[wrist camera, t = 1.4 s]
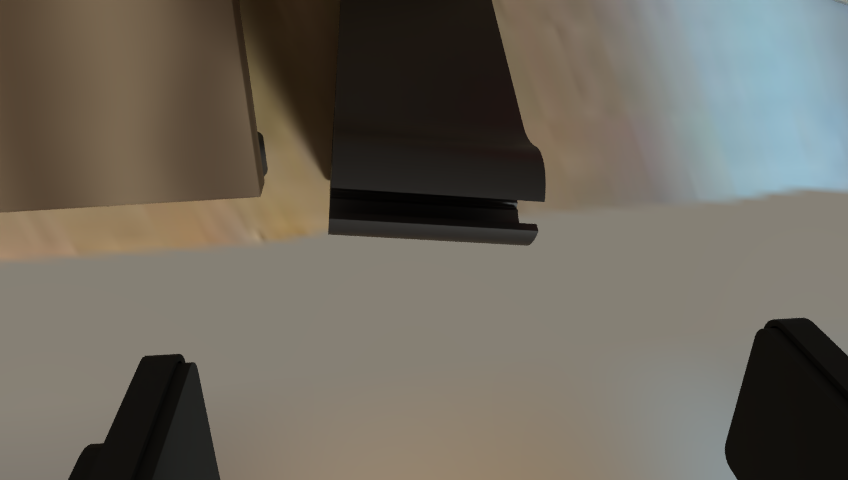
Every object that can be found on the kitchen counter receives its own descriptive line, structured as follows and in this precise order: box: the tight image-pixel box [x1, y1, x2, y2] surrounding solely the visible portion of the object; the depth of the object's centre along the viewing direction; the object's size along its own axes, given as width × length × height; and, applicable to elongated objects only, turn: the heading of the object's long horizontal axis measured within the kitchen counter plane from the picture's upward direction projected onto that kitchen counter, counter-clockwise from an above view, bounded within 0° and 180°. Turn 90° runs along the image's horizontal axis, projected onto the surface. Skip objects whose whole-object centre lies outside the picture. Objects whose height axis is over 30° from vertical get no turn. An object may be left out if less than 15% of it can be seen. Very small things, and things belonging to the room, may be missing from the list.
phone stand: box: [328, 0, 545, 245], centre depth 24 cm, size 9×6×12 cm, turn 173°
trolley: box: [0, 0, 268, 212], centre depth 25 cm, size 14×9×4 cm, turn 91°
